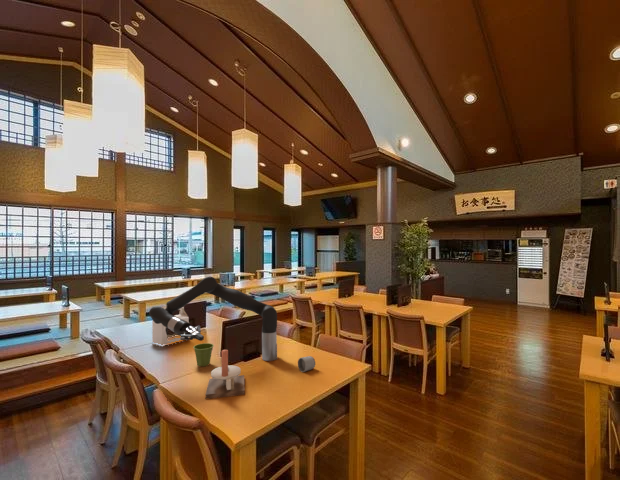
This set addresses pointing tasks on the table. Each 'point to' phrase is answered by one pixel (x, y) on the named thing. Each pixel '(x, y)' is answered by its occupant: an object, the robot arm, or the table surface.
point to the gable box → (159, 329)
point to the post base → (219, 387)
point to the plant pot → (203, 353)
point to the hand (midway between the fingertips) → (202, 338)
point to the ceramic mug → (306, 363)
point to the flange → (225, 370)
